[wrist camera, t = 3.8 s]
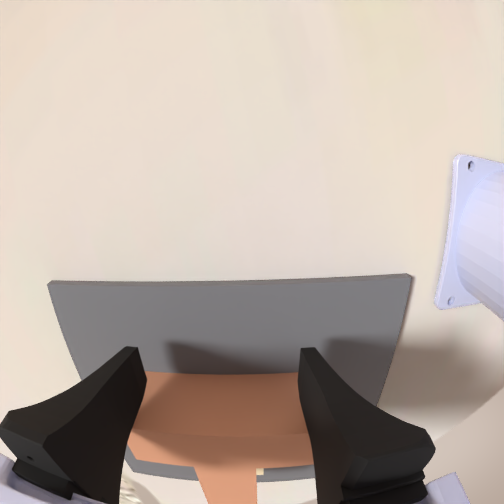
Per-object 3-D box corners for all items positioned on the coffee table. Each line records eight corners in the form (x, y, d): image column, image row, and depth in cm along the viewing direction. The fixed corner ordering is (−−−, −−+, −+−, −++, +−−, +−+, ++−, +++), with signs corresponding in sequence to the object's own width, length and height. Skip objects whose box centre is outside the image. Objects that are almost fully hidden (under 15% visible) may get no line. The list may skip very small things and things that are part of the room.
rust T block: (312, 371, 14) (327, 430, 10) (298, 458, 17) (304, 503, 13) (140, 370, 14) (117, 425, 10) (172, 457, 17) (164, 501, 13)
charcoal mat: (406, 273, 13) (411, 277, 12) (346, 468, 19) (347, 472, 18) (51, 280, 13) (46, 284, 12) (134, 467, 19) (133, 472, 18)
